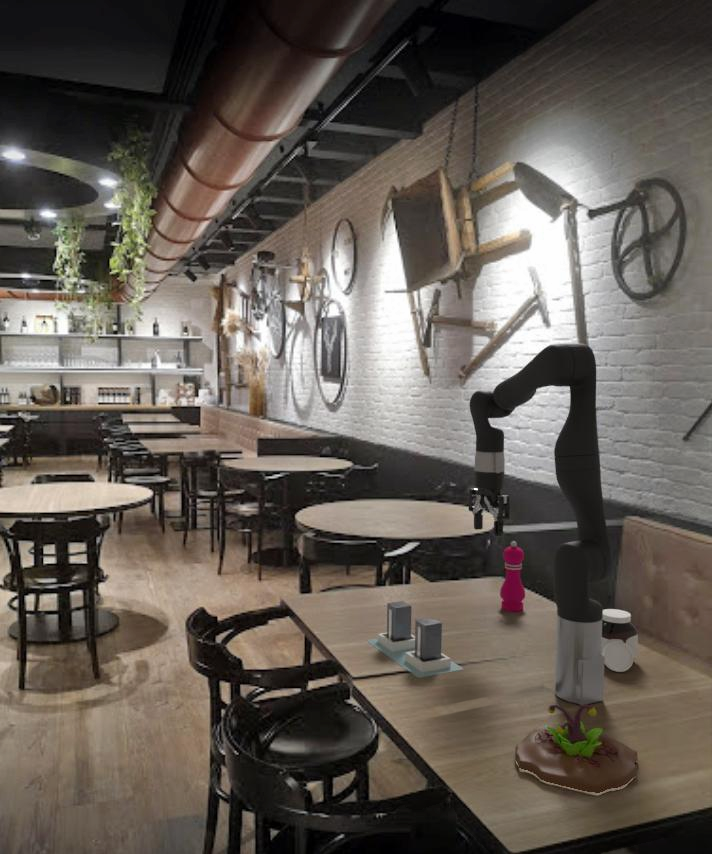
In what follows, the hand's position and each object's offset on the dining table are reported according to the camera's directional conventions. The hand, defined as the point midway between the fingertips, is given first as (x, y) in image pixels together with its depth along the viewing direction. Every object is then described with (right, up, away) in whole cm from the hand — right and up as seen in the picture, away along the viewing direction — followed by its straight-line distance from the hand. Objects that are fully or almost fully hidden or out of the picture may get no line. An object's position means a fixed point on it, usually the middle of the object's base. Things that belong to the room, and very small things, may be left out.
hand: (488, 532), depth 193 cm
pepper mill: (+12, -27, +29) cm, 41 cm away
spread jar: (+28, -30, -13) cm, 43 cm away
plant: (+5, -33, -60) cm, 68 cm away
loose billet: (-23, -27, -6) cm, 36 cm away
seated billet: (-17, -28, -19) cm, 37 cm away
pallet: (-20, -29, -12) cm, 37 cm away
